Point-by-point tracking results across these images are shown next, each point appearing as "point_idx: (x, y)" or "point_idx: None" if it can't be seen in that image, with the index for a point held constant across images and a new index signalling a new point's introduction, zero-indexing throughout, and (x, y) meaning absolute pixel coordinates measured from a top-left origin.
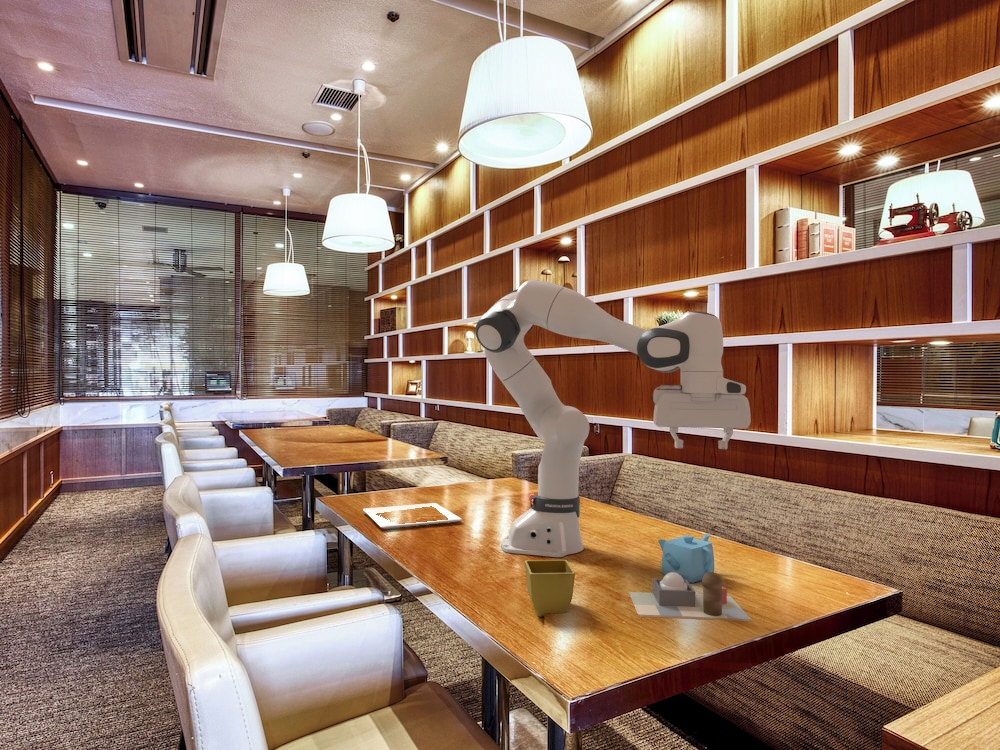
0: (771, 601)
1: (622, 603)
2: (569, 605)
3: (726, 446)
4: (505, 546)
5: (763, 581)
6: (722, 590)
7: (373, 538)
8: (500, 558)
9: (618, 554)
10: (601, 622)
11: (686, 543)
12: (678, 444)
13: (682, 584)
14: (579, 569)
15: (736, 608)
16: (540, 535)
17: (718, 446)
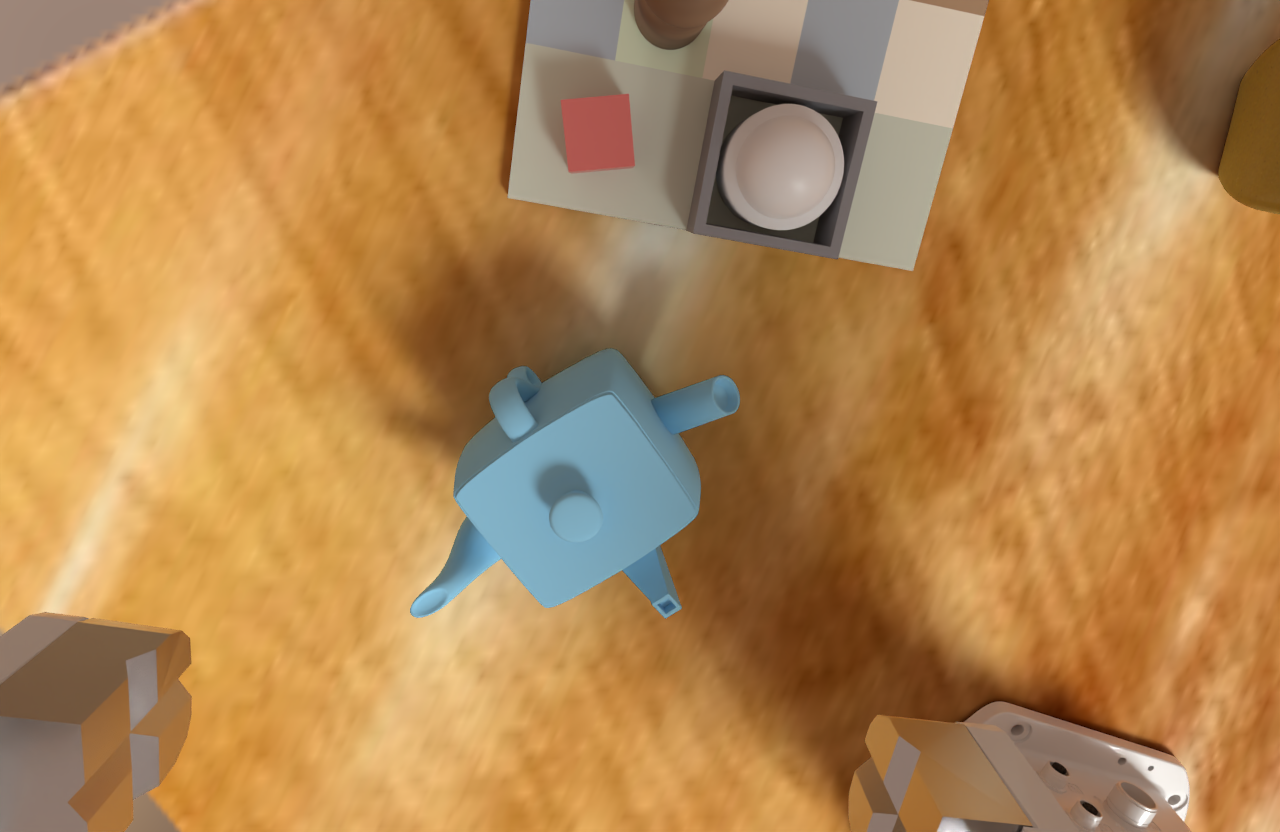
0: (335, 178)
1: (959, 199)
2: (1271, 45)
3: (32, 629)
4: (1173, 803)
5: (264, 409)
6: (582, 98)
7: None
8: (1220, 699)
9: (745, 735)
10: (1123, 7)
11: (594, 487)
12: (995, 755)
13: (763, 124)
14: (970, 573)
15: (547, 48)
16: (1096, 806)
17: (171, 757)
